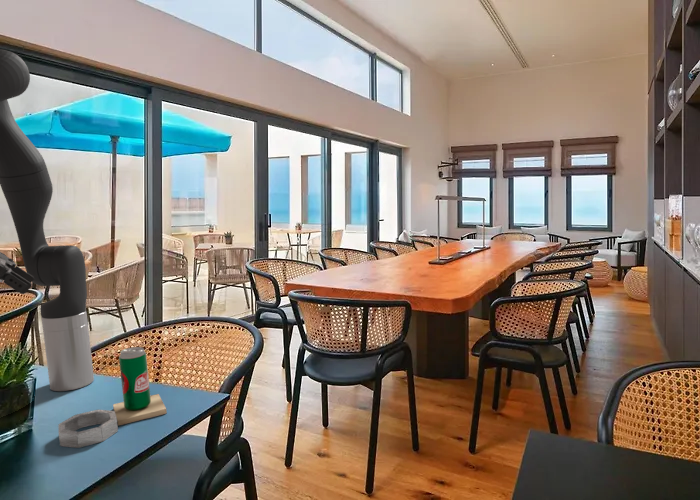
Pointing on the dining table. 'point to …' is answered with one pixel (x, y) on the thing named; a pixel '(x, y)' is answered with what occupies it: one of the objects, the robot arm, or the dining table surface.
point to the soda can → (134, 378)
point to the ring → (89, 436)
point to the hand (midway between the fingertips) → (29, 286)
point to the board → (139, 411)
